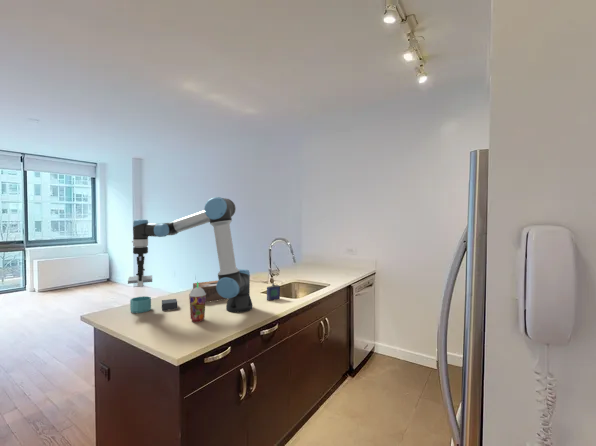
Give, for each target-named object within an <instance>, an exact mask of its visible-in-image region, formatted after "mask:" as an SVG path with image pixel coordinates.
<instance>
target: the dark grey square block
mask: <svg viewBox="0 0 596 446" xmlns="http://www.w3.org/2000/svg"><path fill="white" fill-rule="evenodd" d="M161 309H162V310H161V311H162V312H163V311H172V310H178V300H177V298H170V299H163V300H162V299H161Z"/></svg>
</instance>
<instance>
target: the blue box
mask: <svg viewBox="0 0 596 446" xmlns="http://www.w3.org/2000/svg"><path fill="white" fill-rule="evenodd" d="M280 298H281V285H278V284H275V283H274V282H273V283H271V286H269V285H268V286H266V301H267V302H271V301H278V300H280Z"/></svg>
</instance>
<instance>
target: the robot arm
mask: <svg viewBox="0 0 596 446" xmlns="http://www.w3.org/2000/svg"><path fill="white" fill-rule="evenodd" d="M236 208H237V207H236V204H235V202H233V201H232V200H231V199H230V198H226V197H225V198H224V197H220V196H218V197H217V196H216V197H212V198H210V199H208V200H207V201H206V203H205V204H204V208H203V209H204V210H201V211H199V212H195V213H193V214H190V215H187V216H183V217H181V218H178V219H176V220H172V221H170V222H155V223H154V222H153V223H152V222H151V223H150V222H149V221H148V219H134V220H133V222H132V223H133V224H132V234H133V235H132V236H133V239H132V240H131V243H132V245H133V248H132V253H133V255H137V256H136V264H137V273H136V275H135V276H138V283H137V288H143V287H144V283H143V276H145V274H144V271H145V268H144V264H145V256H144V255H147V254H148V253H149V247H148V246H149V237H153V238H154V237H155V238H156V237H157V238H165V237H168V236H176V235H177V234H178V233H181V232H185V231H187V230H190V229H193V228H196V227H199V226H202V225H205V224H208V223H209V225H211V226H212V227H213V231H214V237H215V246H216V251H217V260H218V265H219V271H218V273H217V278H218V280H219V281H218V280H217V281H218V282H217V285H216V289H217V292H218V294H219V295H220V296H222V297H223V298H227V299H226V300H227V302H226V306H225V309H226V311H228V312H230V313H245V312H248V311H251V310H253V308H254V307H253V302H252V299H251V295H250V290H251V289H250V283H251V282H250V281H251V279H250V278H251V274H250V270H248V269H240V268H239V269H238V268H237V265H236V258H235V252H234V245H233V238H232V233H231V226H230V224H231V223H232V221H233V220H232V219H233V216H234V214H236Z"/></svg>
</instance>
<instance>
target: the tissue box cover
mask: <svg viewBox="0 0 596 446" xmlns="http://www.w3.org/2000/svg"><path fill="white" fill-rule="evenodd" d="M218 281H219V279H218V280H209V281H200V282H198V287H200V288H202V289H204V291H205V293H206V302H205V303H210V301H211V302H217V300H218V301H224V299H225V300H228V299H227V298H223V297H222V296H220V295H219V294H218V292H217V289H216V285H217V282H218ZM196 287H197V282H193V283H192V289H194V288H196Z"/></svg>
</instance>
